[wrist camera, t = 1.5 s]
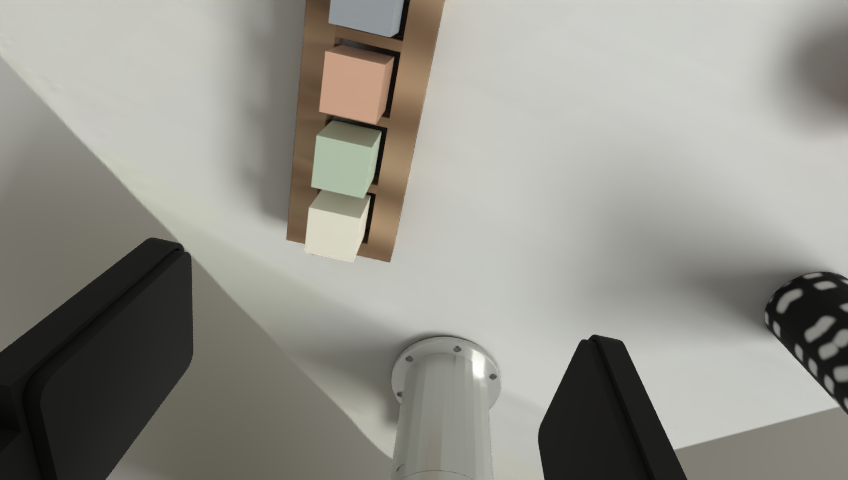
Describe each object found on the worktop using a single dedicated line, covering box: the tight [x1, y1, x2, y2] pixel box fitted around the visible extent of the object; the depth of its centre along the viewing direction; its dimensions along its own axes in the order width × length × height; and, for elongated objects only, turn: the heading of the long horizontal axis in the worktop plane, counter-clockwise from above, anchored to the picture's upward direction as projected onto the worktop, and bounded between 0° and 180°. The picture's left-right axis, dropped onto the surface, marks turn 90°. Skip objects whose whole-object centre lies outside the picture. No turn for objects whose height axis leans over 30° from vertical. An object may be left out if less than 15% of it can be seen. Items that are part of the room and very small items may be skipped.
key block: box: [286, 0, 445, 262], centre depth 40 cm, size 26×10×3 cm, turn 168°
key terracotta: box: [319, 45, 394, 124], centre depth 36 cm, size 4×4×5 cm
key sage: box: [311, 120, 382, 199], centre depth 39 cm, size 4×4×5 cm
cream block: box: [304, 189, 371, 262], centre depth 41 cm, size 4×4×5 cm
